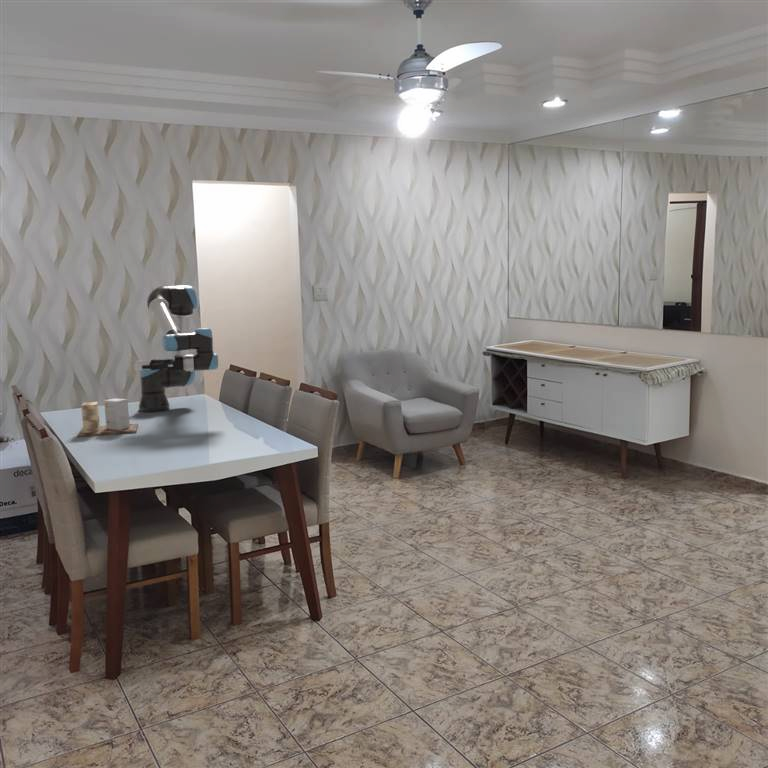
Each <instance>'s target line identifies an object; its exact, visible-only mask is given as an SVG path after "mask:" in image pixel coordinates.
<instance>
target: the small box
mask: <svg viewBox="0 0 768 768" xmlns="http://www.w3.org/2000/svg"><path fill="white" fill-rule="evenodd" d="M128 401H129V399H128V398H127V399H126V398H110V399H109V398H108V399H105V400H104V403H103V404H104V414H105V424H106V425H105V426H106V428H107V429H112V430H123V429H126V428H130V424H131V423H130V414H129V402H128Z"/></svg>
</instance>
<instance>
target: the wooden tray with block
mask: <svg viewBox="0 0 768 768" xmlns="http://www.w3.org/2000/svg"><path fill="white" fill-rule="evenodd" d="M80 406H81V417H82V418H81V419H82V427H81V429H80V430H79V432H78V434H77V438H86V437H87V438H88V437H99V436H113V435H115V436H116V435H125V434H137V431H138V427H139V424H138V423H130V428H126V429H123V430H112V429H107V428H106V425H102V426H101V423H100V411H99V401H89V402H83V403H82V404H81V405H80Z"/></svg>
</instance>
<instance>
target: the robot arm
mask: <svg viewBox="0 0 768 768" xmlns="http://www.w3.org/2000/svg"><path fill="white" fill-rule="evenodd" d="M146 303H147V304H146V306H147V309H148V311H149V313H150V314H152V315H153V316H154V317H155V319H156V322H157V324H158V326H159V328H160V330H161V332H162V334H163V336H162V346H163V349H164V351H166V352H170V354H171V355H170V358H168V359H155V358H154V359H150V360H149V359H147V360H146V359H143V360H135V363H134V364H133V365H134V366H133V367H134V368H133V369H134V371H139V377H140V391H141V393H140V395H141V396H140V401H139V404H138V411H139V412H144V413H145V412H146V413H155V412H163V411H167V410H169V409H170V408H171V407H170V403H169V399H168V398H167V395H166V389H168V388H180V387H185V386H190V385H192V384H193V382H194V381H195V376H196V375H195V374H196V371H210V370H211V371H213V370H217V369H218V368H219V355H218V353H216V352H214V345H213V344H214V343H213V332H212V329H211V328H210V327H199V328H195V330H194V332H190V324H191V323H190V316H192V315H193V313H194V310H195V309H197V308H198V298H197V293H196V290H195V288H194V287H193V286H191V285H166V286H165V285H164V286H158V287H156V288H154V289H153V290H152V291H151V292H150V293H149V295H148V297H147V301H146ZM191 350H195V351H196V352H195V354H189V351H191Z"/></svg>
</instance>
